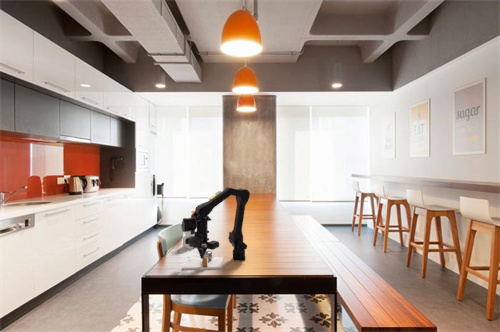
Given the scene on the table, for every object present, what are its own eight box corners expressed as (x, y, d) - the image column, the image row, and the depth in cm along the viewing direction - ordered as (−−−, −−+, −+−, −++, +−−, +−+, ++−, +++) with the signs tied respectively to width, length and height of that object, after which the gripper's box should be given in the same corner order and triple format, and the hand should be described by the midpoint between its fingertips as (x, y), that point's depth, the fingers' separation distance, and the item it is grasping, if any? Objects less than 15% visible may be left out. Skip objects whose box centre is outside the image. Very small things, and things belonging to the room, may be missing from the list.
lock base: (223, 258, 160) (223, 256, 160) (221, 268, 146) (221, 266, 146) (188, 259, 160) (188, 257, 160) (182, 269, 146) (182, 267, 146)
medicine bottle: (191, 244, 187) (190, 226, 186) (198, 246, 182) (198, 228, 182) (182, 247, 181) (182, 228, 181) (189, 249, 177) (189, 230, 176)
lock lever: (205, 258, 158) (205, 251, 158) (212, 258, 158) (212, 251, 158) (201, 265, 148) (200, 258, 147) (208, 265, 147) (208, 258, 147)
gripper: (177, 230, 146) (177, 260, 147) (206, 236, 137) (206, 267, 138) (192, 225, 156) (192, 253, 157) (220, 230, 147) (219, 260, 148)
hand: (202, 258), depth 150 cm, fingers closed
